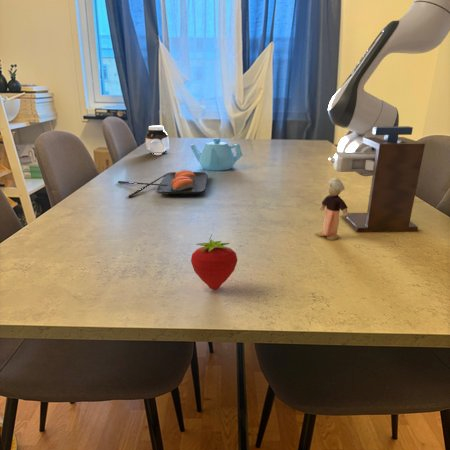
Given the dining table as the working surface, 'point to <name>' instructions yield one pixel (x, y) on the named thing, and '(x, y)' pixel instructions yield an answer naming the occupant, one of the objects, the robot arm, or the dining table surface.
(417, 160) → the stand
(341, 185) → the grandmother figurine
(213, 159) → the teapot
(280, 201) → the dining table surface
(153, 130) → the spread jar
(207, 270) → the strawberry
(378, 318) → the dining table surface
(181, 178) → the sushi plate
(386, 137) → the peg
